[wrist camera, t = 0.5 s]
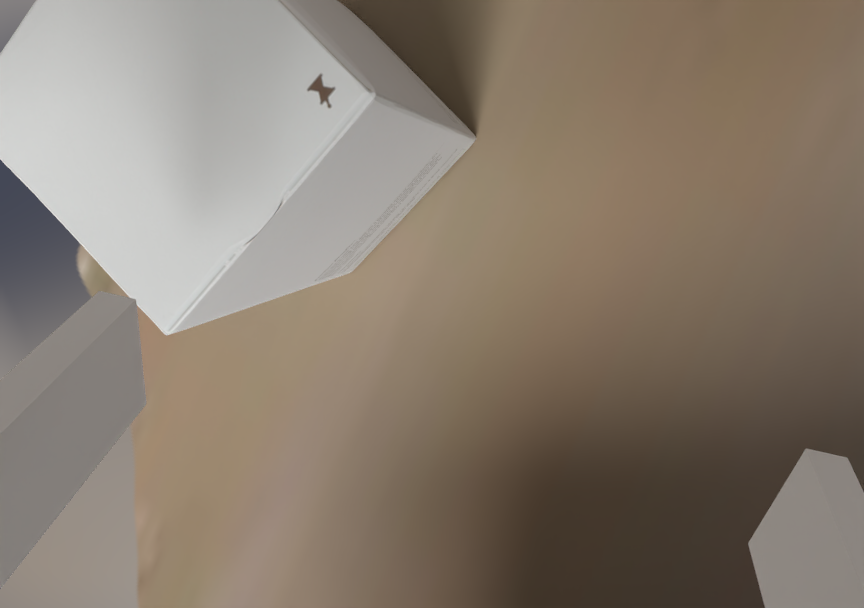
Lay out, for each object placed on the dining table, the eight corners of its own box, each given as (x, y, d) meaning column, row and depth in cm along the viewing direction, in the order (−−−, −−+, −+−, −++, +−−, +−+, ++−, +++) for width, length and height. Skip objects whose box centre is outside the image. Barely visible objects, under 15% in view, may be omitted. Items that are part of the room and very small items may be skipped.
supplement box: (342, -4, 31) (132, -171, 17) (481, 138, 31) (388, 90, 17) (219, 146, 34) (-58, 110, 19) (347, 280, 33) (163, 345, 19)
